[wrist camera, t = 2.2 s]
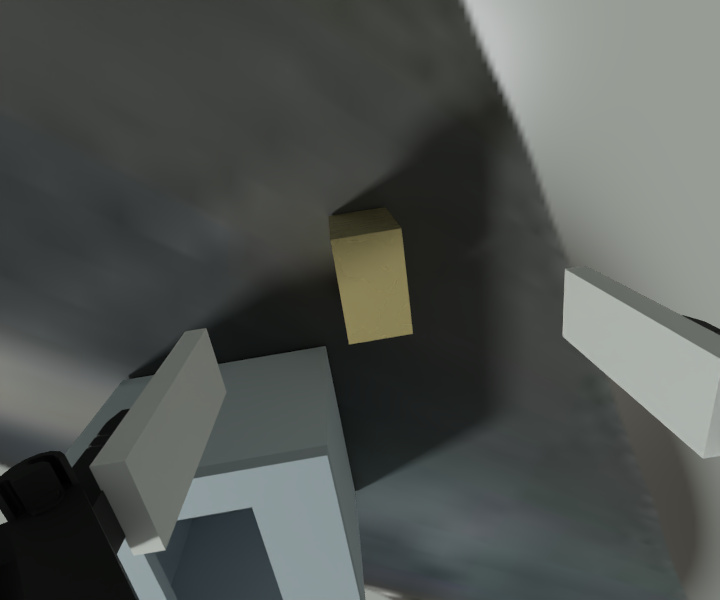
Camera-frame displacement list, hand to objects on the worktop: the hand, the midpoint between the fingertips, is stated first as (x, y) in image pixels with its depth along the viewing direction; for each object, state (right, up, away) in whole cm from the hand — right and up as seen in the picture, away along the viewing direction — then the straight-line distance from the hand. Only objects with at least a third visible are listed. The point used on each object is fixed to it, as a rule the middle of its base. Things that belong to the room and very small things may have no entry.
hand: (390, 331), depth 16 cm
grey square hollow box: (-8, -8, +12) cm, 16 cm away
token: (-1, +3, +8) cm, 9 cm away
